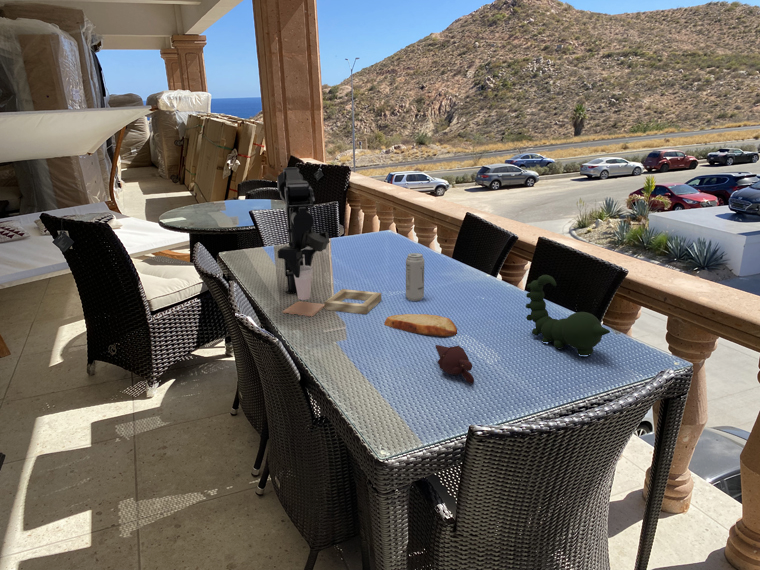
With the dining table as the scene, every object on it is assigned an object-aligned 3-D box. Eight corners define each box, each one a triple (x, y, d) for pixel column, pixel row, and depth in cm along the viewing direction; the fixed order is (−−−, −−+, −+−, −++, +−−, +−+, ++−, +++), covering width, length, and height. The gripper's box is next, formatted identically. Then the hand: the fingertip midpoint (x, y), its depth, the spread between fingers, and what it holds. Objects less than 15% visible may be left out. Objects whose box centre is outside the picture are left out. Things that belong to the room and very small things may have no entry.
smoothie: (310, 301, 162) (308, 257, 158) (290, 300, 163) (288, 256, 159) (317, 295, 168) (315, 252, 164) (297, 293, 169) (295, 251, 165)
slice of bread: (381, 322, 157) (380, 310, 156) (436, 314, 162) (436, 303, 161) (402, 345, 141) (402, 332, 140) (463, 336, 146) (463, 323, 145)
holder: (324, 309, 167) (324, 302, 166) (342, 295, 179) (342, 288, 178) (366, 314, 162) (365, 306, 161) (381, 300, 175) (381, 293, 174)
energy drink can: (422, 302, 172) (423, 257, 168) (404, 301, 174) (404, 256, 169) (424, 296, 178) (425, 253, 174) (407, 295, 179) (407, 252, 175)
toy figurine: (518, 341, 145) (595, 369, 124) (518, 274, 141) (598, 291, 120) (542, 334, 150) (621, 360, 129) (543, 269, 146) (624, 284, 125)
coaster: (282, 313, 164) (282, 311, 164) (298, 302, 173) (298, 301, 173) (311, 316, 161) (311, 314, 161) (325, 306, 170) (325, 304, 170)
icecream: (420, 340, 127) (455, 370, 115) (446, 327, 130) (483, 356, 117) (425, 362, 131) (460, 394, 118) (450, 350, 133) (486, 380, 120)
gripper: (309, 232, 148) (312, 285, 153) (337, 220, 164) (338, 268, 169) (274, 230, 151) (278, 282, 156) (305, 218, 168) (307, 265, 173)
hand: (302, 274), depth 164 cm, fingers closed on smoothie, 6 cm apart
